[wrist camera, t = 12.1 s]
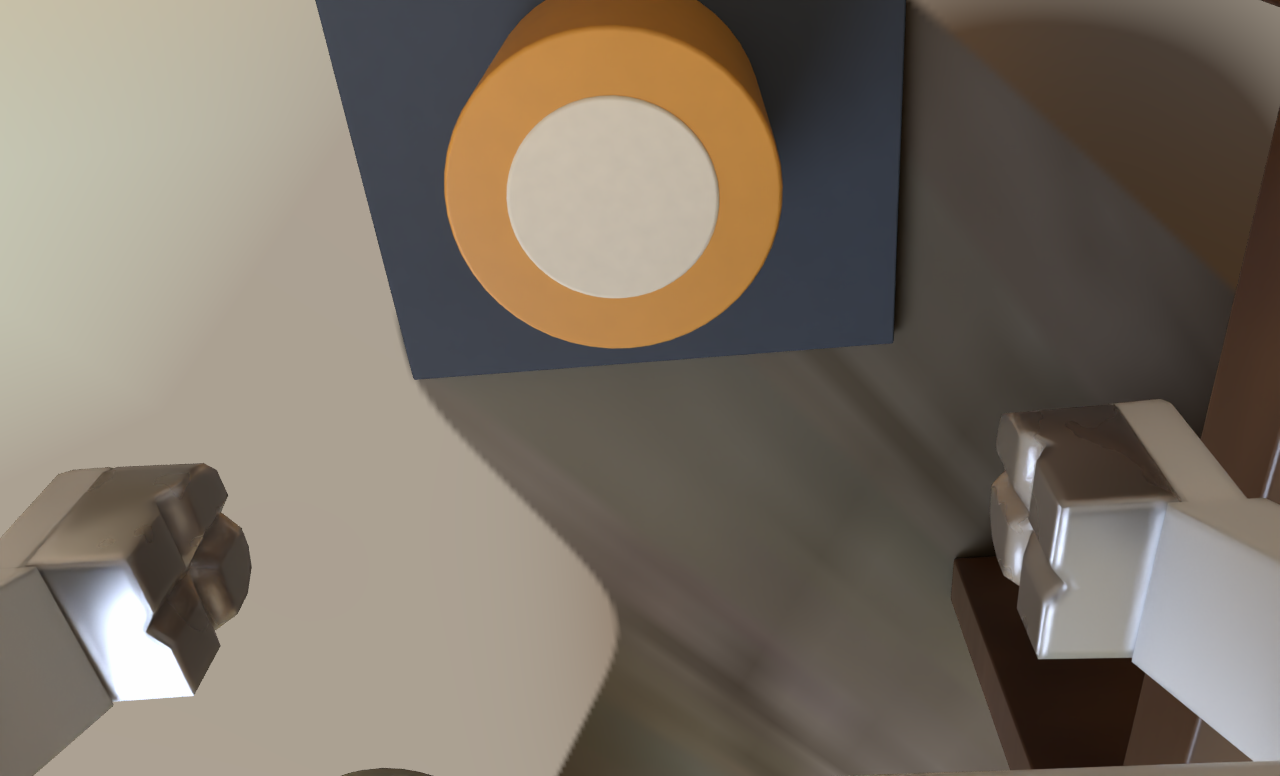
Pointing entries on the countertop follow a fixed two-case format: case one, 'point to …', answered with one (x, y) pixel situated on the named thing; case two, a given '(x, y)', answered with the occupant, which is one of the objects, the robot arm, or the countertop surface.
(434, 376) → the mat
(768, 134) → the tape roll
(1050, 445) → the robot arm
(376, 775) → the teacup
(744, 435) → the countertop surface
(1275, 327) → the shelf
